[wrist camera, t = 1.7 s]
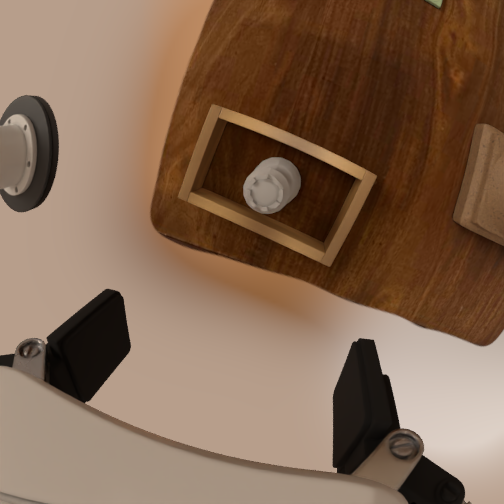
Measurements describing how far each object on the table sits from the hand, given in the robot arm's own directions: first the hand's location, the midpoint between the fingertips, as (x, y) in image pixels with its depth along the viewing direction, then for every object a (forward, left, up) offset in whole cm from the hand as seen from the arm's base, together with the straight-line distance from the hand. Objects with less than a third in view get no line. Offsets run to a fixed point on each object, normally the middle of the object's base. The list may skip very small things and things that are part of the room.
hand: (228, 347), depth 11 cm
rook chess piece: (-2, +4, -19) cm, 19 cm away
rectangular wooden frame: (-2, +4, -18) cm, 19 cm away
